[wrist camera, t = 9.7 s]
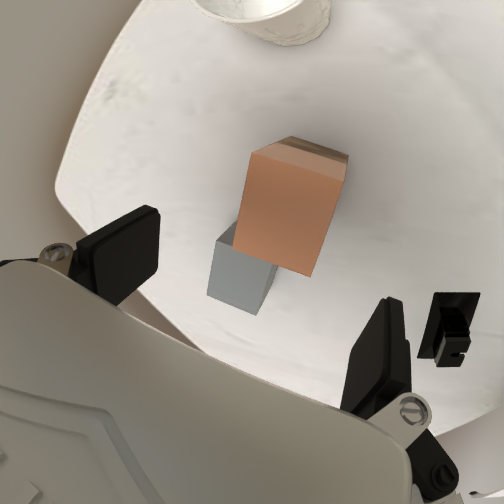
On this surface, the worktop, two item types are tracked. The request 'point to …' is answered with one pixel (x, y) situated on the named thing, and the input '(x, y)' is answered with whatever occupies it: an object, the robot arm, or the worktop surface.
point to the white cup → (272, 18)
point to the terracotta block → (287, 206)
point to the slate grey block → (239, 275)
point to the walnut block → (315, 149)
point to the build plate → (448, 328)
